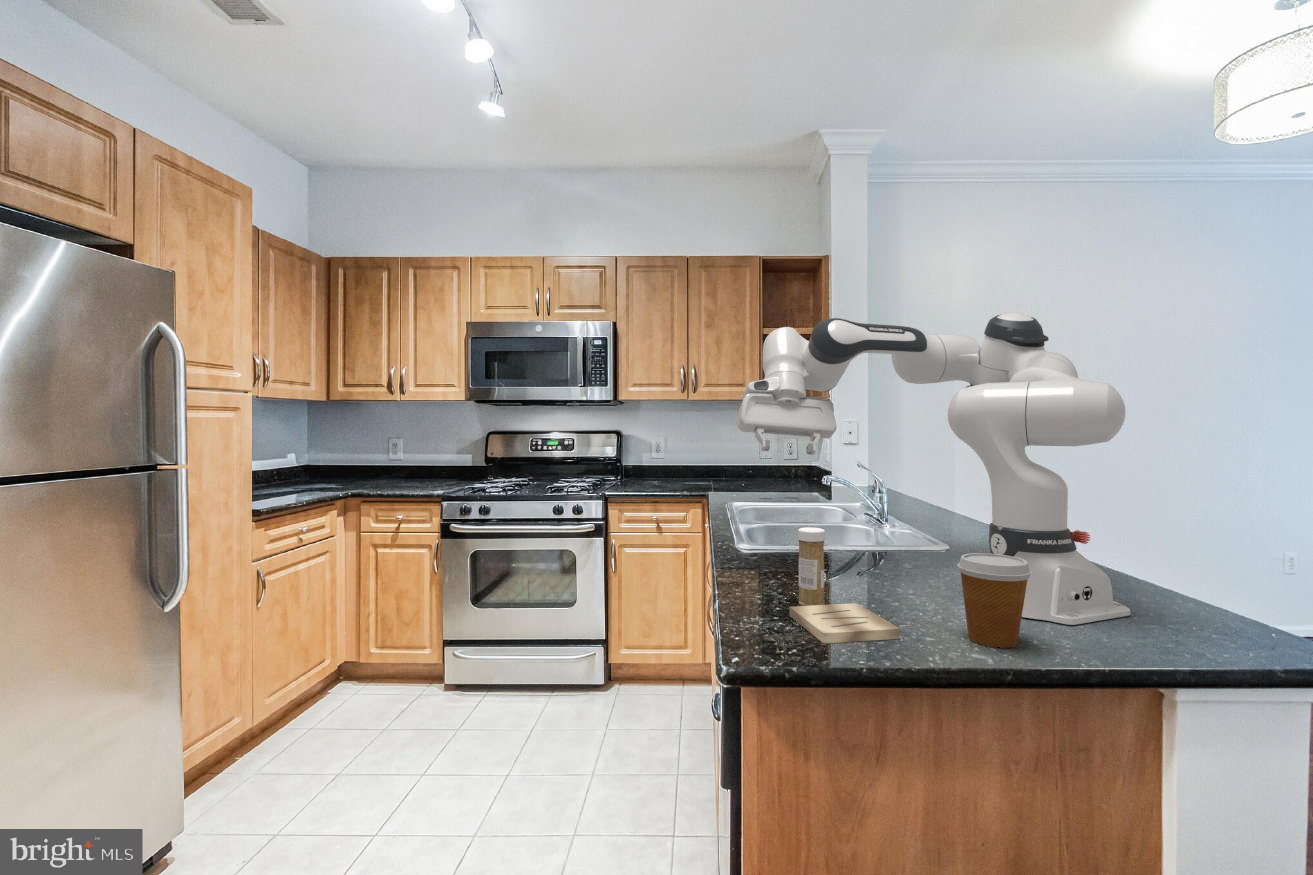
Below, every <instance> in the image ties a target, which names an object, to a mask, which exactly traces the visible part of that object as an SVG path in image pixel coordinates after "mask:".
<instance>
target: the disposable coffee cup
mask: <svg viewBox="0 0 1313 875" xmlns="http://www.w3.org/2000/svg"><path fill="white" fill-rule="evenodd" d="M956 566H957V568H958V570H959V572H960V578H961V584H962V594H963V602H964V610H965V618H966V625H967V626H966V628H967V636H968V639H969V640H971V641H972V642H974V643H976V644H978V643H979V645H981V644H982V645H983V646H985V645H986V647H989V648H997V647H1000V648H999V649H1008V648H1009V647H1011V648H1014V647H1017V646H1018V643H1019V642H1018V641H1019V635H1020V634H1019V633H1020V629H1021V628H1020V627H1021V623H1022V618H1023V617H1022V611H1023V605H1024V598H1025V592H1026V586H1027V580H1028V579H1029V576H1030V575H1031V572H1032V571H1031V570H1029V566H1028V562H1027V561H1025V560H1023V559H1020V558H1016V557H1012V556H1006V555H999V554H991V553H987V552H986V553H984V552H983V553H982V552H979V553H978V552H973V553H972V552H971V553H965V554H961V556H960V559H959V562H958V563H957V565H956ZM1016 645H1017V646H1016ZM1006 647H1007V648H1006ZM1009 649H1010V648H1009Z"/></svg>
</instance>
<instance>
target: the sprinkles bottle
mask: <svg viewBox="0 0 1313 875" xmlns="http://www.w3.org/2000/svg"><path fill="white" fill-rule="evenodd" d="M797 539H798V602H797V604H798V605H799V606H813V605H826V604H825V593H824V592H825V558H824V557H825V554H824V553H825V552H824V551H825V548H824V547H825V546H824V544H825V540H826V531H825V529H823V528H819V527H811V526H810V527H808V526H807V527H799V529H797Z"/></svg>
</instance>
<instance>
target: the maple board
mask: <svg viewBox="0 0 1313 875" xmlns="http://www.w3.org/2000/svg"><path fill="white" fill-rule="evenodd" d="M788 613H789V614H788V615H789V617H791V619H793V620H794V621H795V622H796V623H797V624H799V625H800V626H801V627H803V629H806V631H807V632H809V633H810V634H811V635H813V636H814V637H815V638H816V639H817V640H819V642H821V643H822V644H838V643H839V644H840V643H853V642H869V641H870V642H871V641H884V640H898V639H899V640H900V639H901V629H900V627H898V626H896V625H894V624H893V623H892V622H889V621H888V620H886V619H884V618H883V617H881V616H879V615H878V614H876V613H875V612H873V611H871V610H869V609H867V607H865V606H863V605H861V604H859V603H857V602H856V603H855V602H853V603H838V604H837V603H836V604H824V605H813V606H801V605H799V606H795V605H794V606H789V612H788Z"/></svg>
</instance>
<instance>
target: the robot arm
mask: <svg viewBox="0 0 1313 875" xmlns="http://www.w3.org/2000/svg"><path fill="white" fill-rule="evenodd" d="M983 334H984V338H983V341H982V342H981V345H980V344H979V342H978V341H977V340H976V339H975V338H973V337H972V336H967V335H962V334H953V333H952V334H950V333H935V334H934V333H932V334H931V333H930V334H929V333H928V334H924V333H923V332H922V331H921V330H920V329H917V328H914V327H909V326H905V325H893V324H892V325H890V324H875V323H862V322H854V321H852V320H848V319H843V318H838V317H832V318H830V317H829V318H826V319H823V320H820V321H819V322H818V323H816V325H814V327H813V328H812V332H811V334H810V337H809V340H807V339H806V338H805V337H803V336H802V335H801V334H800V333H799V332H798V331H797V329H795V328H793V327H790V326H783V327H779V328H776V329H774V330H772V331H771V332H770V333H769V334H768V335H767V336H766V337H765V340H764V342H763V346H762V370H763V372H764V377H763V379H760V380H759V379H758V380H755V381H750V382H749V383H747V386H746V387H745V389H744V392H743V395H742V402H741V404H740V406H739V410H738V416H737V427H738V429H739V430H740V431H741V432H745V433H754V437H755V438H756V440H757V441H758V443H759V444H760V451H761V452H769V451H770V449H771V445H770V444H771V441H770V440H768V439H766V437H765V436H764V435H763V434H765V435H766V434H767V435H768V434H769V435H782V436H793V437H806V438H810V439H809V440H810V441H811V442H812V443H808V444H807V445H806V447H805V452H806V455H811V456H815V454H816V453H817V452H816V451H817V447H816V445H817V443H818V441H819V440H820V439H831V437H832V436H833V435H834V434H835V432H836V430H837V421H836V417H835V410H834V409H835V408H834V407H835V406H834V403H833V402H832V401H831V400H829V399H827V397H824V396H813V395H807V391H811V392H819V393H825V392H828V391H832V390H833V389H834V388H835V387H836V386H837V385H838V384H839V382H840V380H841V378H842V377H843V375H844V373H845V372H846V370H847V368H848V366H850V363H851V362H852V361H853V360H854V359H855V358H856V357H858V356H859V355H863V354H884V355H885V354H887V355H891V362H892V365H893V369H894V371H895V373H896V375H897V376H898V377H899V378H900V379H902V380H903V381H904V382H906V383H908V384H914V385H925V384H928V385H929V384H938V383H946V382H954V381H959V382H960V381H962V382H966V383H969V385H967V386H965V387H963V388H962V387H961V388H960V389H958V391H957V392H956V393H955V394H954V395H953V397H952V398H951V400H950V402H949V405H948V408H947V421H948V424H949V427H950V429H951V431H952V433H953V434H954V435H955V436H956V437H957V438H958V439H959V440H960V441H962V442H963V443H964V444H967V446H969V447H970V448H971V449H972V450H973V451H974V453H975V454H976V455H977V456H978V458H979V459H980V460H981V462H982V463H983V465H984V467H985V469H986V472H987V475H988V478H989V482H990V483H989V484H990V491H991V509H992V513H991V514H992V515H991V517H992V518H991V519H992V520H991V523H989V527H988V528H989V530H988V544H989V550H990V551H989V552H990V554H999V555H1006V556H1012V557H1016V558H1020V559H1023V560H1025V561H1027V562H1028V566H1029V570H1031V571H1032V572H1031V575H1030V576H1029V579H1028V580H1027V586H1026V592H1025V598H1024V605H1023V611H1022V618H1028V619H1034V620H1040V621H1041V620H1042V621H1048V622H1052V623H1058V624H1062V625H1067V626H1070V625H1071V626H1073V625H1074V626H1075V625H1082V624H1087V623H1092V622H1094V623H1095V622H1097V621H1105V620H1110V619H1116V618H1122V617H1128V616H1131V614H1132V613H1131V609H1130V608H1129V607H1128V606H1126V605H1125V604H1123V603H1120V602H1118V601H1115V600H1114V596H1113V587H1112V586H1113V585H1112V583H1111V579H1110V577H1109V576H1108V574H1107V573H1105V571H1103V570H1102V569H1101V568H1099V567H1097V566H1096V565H1095V564H1094V563H1092V562H1091V561H1090V560H1089V559H1088V558H1086V557H1085V556H1083V555H1082V554H1081V553H1080V552H1079V551H1078V550H1077V549H1078V548H1077V546H1076V543H1080V544H1084V545H1086V544H1088V543H1089V542H1091V535H1090V533H1089V532H1088V531H1080V530H1079V529H1078V530H1077V529H1076V530H1074V531H1071V530H1070V529H1069V528H1068V506H1069V505H1068V504H1069V502H1068V499H1069V498H1068V497H1069V496H1068V493H1069V490H1068V485H1067V483H1066V482H1065V480H1064V479H1063V477H1061V476H1060V475H1059V474H1058V473H1056V472H1055V471H1052V470H1051V469H1049V468H1047V467H1045V466H1042V465H1040V464H1038V463H1036V462H1033V461H1032V460H1031V459H1029V456H1028V455H1027V453H1026V447H1032V446H1036V447H1037V446H1041V447H1081V446H1088V445H1096V444H1102V443H1107V442H1110V441H1111V440H1112V439H1113V438H1115V436H1117V434H1118V433H1119V432H1120V430H1121V429H1122V427H1123V425H1124V422H1125V419H1126V405H1125V401H1124V400H1123V397H1122V396H1121V394H1120V393H1119V391H1118V390H1117V389H1116V388H1115V387H1113V385H1111V384H1109V383H1106V382H1100V381H1099V382H1098V381H1093V380H1087V379H1082V378H1079V375H1078V371H1077V369H1076V366H1075V364H1074V363H1073V362H1072V361H1071V360H1070V358H1068V357H1066V356H1065V355H1063V354H1062V353H1057V352H1050V351H1048V350H1047V351H1046V349H1045V344H1046V343H1045V342H1048V341H1049V337H1048V336H1047V335H1045V334H1044V330H1043V327H1042V325H1041V324H1040V323H1039V321H1038V319H1036V318H1035V317H1033V316H1030V315H1028V314H1025V313H1022V312H1021V313H1020V312H1008V313H1003V314H998V315H996V316H994V317H991V318H990V319H989V321H988V323H987V324H986V326H985V330H984V332H983ZM1075 542H1076V543H1075Z"/></svg>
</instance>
